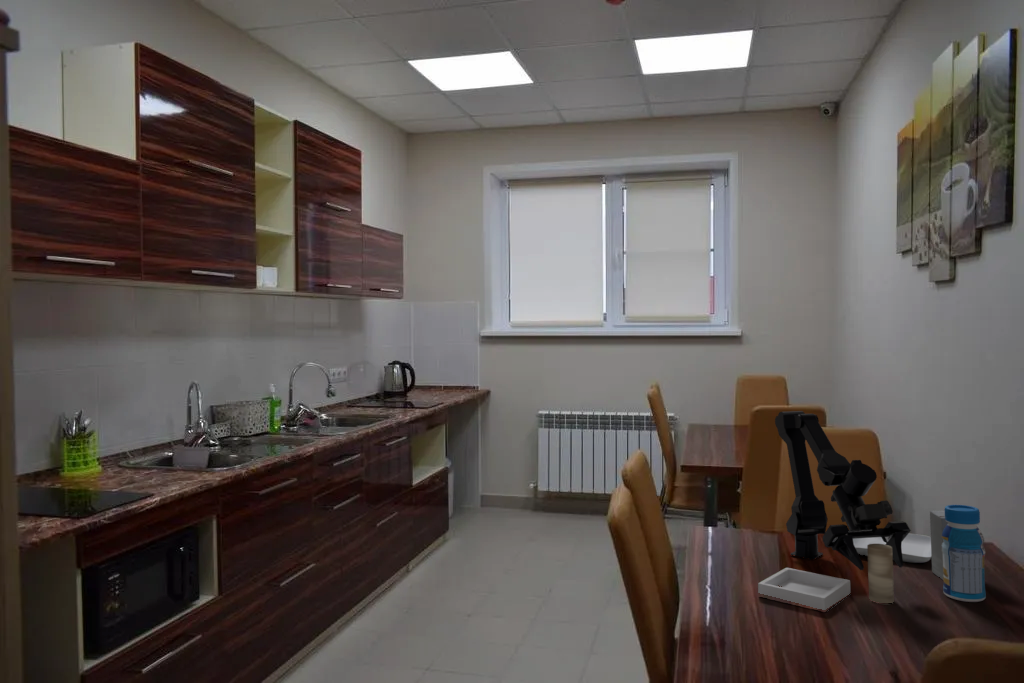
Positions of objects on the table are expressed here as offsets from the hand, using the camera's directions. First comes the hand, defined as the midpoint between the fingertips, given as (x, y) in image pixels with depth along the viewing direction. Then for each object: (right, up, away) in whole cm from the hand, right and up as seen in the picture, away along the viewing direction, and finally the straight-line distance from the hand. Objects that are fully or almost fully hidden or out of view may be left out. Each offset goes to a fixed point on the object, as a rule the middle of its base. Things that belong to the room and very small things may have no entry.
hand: (882, 567), depth 163 cm
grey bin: (-15, -8, +5) cm, 18 cm away
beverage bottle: (+19, -7, +1) cm, 21 cm away
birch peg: (0, -7, +1) cm, 7 cm away
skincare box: (+25, -7, +14) cm, 29 cm away
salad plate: (+21, -7, +36) cm, 42 cm away
